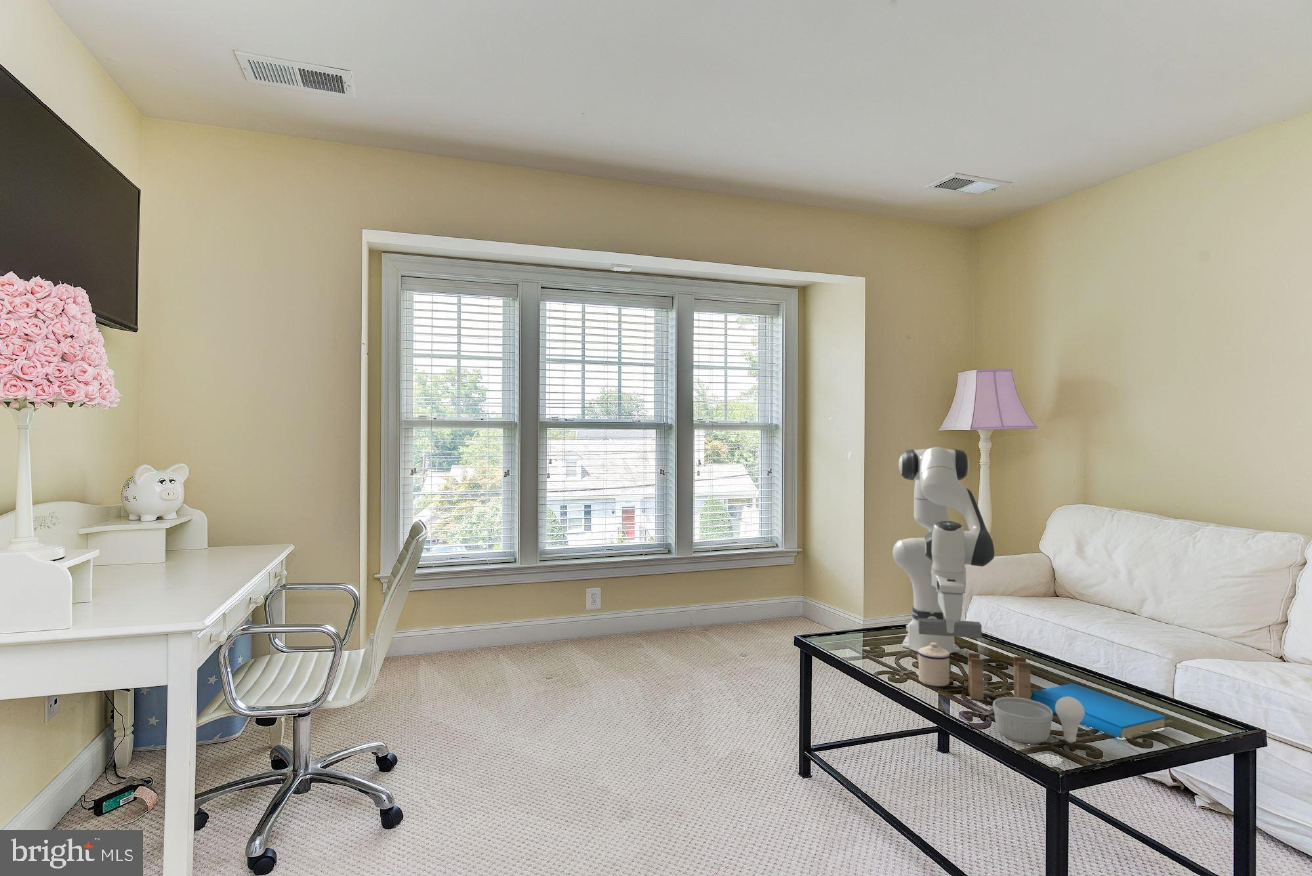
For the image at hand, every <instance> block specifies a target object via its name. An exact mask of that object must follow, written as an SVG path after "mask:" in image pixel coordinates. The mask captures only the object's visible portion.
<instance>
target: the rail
mask: <svg viewBox="0 0 1312 876" xmlns="http://www.w3.org/2000/svg"><path fill="white" fill-rule="evenodd" d="M982 629H983V628H982V624H981V622H979V621H969V620H960V622H955V624H954V633H948V632H947V630H946V620H942V619H927V618H918V632H919V634H926V635H939V636H953V637H954V638H955V637H956V638H965V639H967V638H968V639H979V640H980V639H982V637H983V636H982V633H983V631H982Z"/></svg>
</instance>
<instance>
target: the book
mask: <svg viewBox="0 0 1312 876" xmlns="http://www.w3.org/2000/svg"><path fill="white" fill-rule="evenodd" d="M1062 697H1072V698H1075V699H1077V700H1078V701H1079V702H1080V703H1081V704H1082V706H1083V707H1084V711H1085V715H1084V718H1083V719H1082V721H1081V722H1080V724H1079V725H1082V726H1084V725H1086V726H1085V727H1087V726H1088V727H1087V728H1089V727H1092V728H1095V729H1097V730H1099V731H1102V732H1104V733H1108V734H1111V735H1114V736H1116V737H1119V738H1123V737H1127V736H1130V735H1134V734H1137V733H1140V732H1142V731H1147V730H1150V729H1155V728H1157V727H1163V726H1164V727H1165V719H1166V716H1165V715H1162V714H1160V713H1157V712H1155V711H1152V710H1149V709H1146V708H1143V707H1141V706H1137V705H1136V704H1132V703H1129V702H1127V701H1124V700H1121V699H1118V698H1116V697H1113V696H1110V695H1108V694H1105V693H1101V692H1098V691H1097V690H1093V689H1090V688H1087V687H1085V686H1082V685H1079V684H1076V683H1067V684H1063V685H1062V684H1061V685H1058V686H1057V685H1056V686H1053V687H1048V688H1043V689H1037V690H1033V691H1031V700H1033V701H1036V702H1039V703H1042V704H1044V705H1046V706H1048V707H1049V708H1050V709H1051V710H1052V712H1053V714H1055V715H1057V713H1056V710H1055V705H1056V702H1057V701H1058V700H1059V699H1060V698H1062ZM1099 731H1098V732H1099Z"/></svg>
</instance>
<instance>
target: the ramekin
mask: <svg viewBox="0 0 1312 876" xmlns="http://www.w3.org/2000/svg"><path fill="white" fill-rule="evenodd" d="M992 709H993V713H994V720H995V727H996V729H997V731H998V732H999V733H1000V734H1001V735H1002V736H1003V737H1005V738H1007V739H1009V740H1011V741H1015V742H1019V743H1022V744H1032V745H1033V744H1035V745H1036V744H1042V743H1045V742H1047V740H1048V739H1049V738H1050V735H1051V729H1052V723H1053V722H1052V720H1053V719H1054V713H1053V712H1052V710H1051V709H1050V708H1049V707H1048V706H1046V705H1044V704H1042V703H1039V702H1036V701H1033V700H1029V699H1024V698H1017V697H1014V696H1004V697H998V698H996V699H995V700H993V702H992ZM1041 742H1042V743H1041Z"/></svg>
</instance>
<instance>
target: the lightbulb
mask: <svg viewBox="0 0 1312 876" xmlns="http://www.w3.org/2000/svg"><path fill="white" fill-rule="evenodd" d="M1055 710H1056V713H1057V714H1056V715H1057V717H1058V719H1059V721H1060V723H1061V726H1062V727H1061V728H1062V729H1061V730H1062V731H1063V739H1064V740H1065V741H1066V743H1069V744H1073V743H1075V742H1077V734H1078V731H1079V726H1080V725H1081V724H1080V722H1081V721H1082V719H1083V718H1084V715H1085V711H1084V707H1083V706H1082V704H1081V703H1080V702H1079V701H1078V700H1077V699H1075V698H1072V697H1062V698H1060V699H1059V700H1058V701H1057V702H1056V705H1055Z"/></svg>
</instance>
